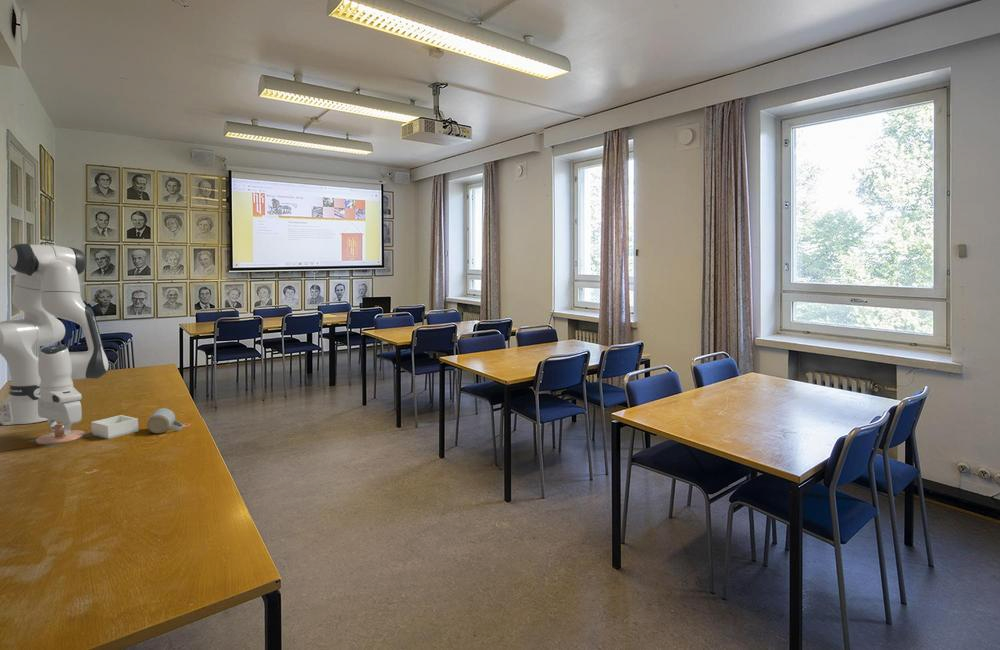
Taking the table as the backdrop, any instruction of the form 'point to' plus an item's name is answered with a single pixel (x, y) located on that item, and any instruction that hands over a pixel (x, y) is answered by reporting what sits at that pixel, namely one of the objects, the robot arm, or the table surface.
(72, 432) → the lid
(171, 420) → the ceramic mug
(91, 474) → the table surface
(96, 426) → the dish
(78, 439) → the mat
